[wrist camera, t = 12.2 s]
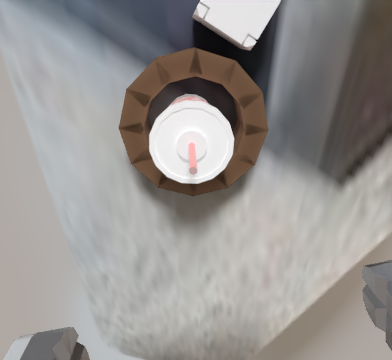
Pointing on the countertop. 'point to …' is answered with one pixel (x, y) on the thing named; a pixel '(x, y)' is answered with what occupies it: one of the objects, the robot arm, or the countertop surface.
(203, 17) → the container set
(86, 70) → the countertop surface
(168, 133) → the beverage cup
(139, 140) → the walnut ring
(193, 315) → the countertop surface
